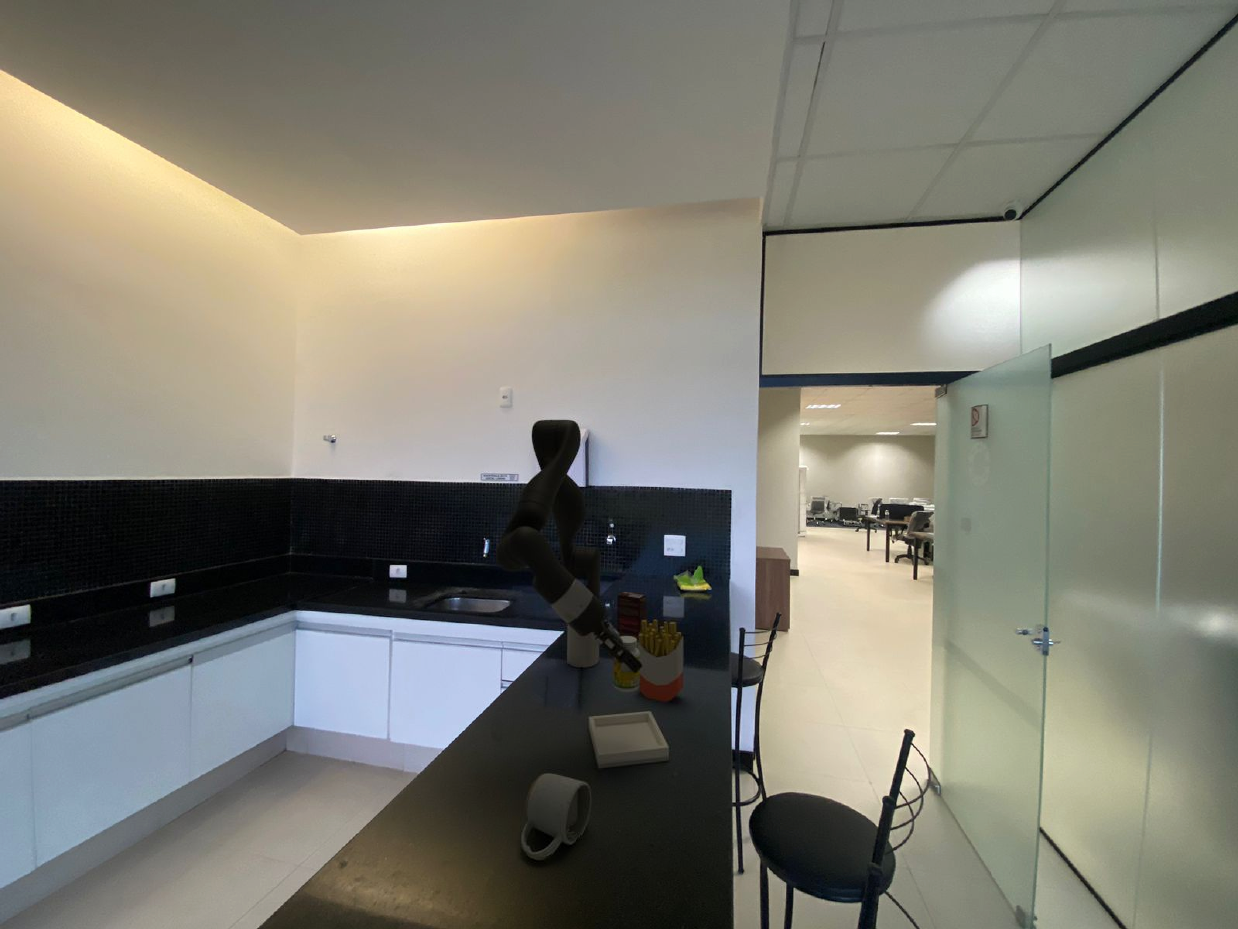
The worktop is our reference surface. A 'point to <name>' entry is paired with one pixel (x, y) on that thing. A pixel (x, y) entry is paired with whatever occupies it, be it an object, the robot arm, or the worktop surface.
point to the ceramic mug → (556, 810)
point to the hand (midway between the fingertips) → (635, 662)
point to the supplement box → (631, 613)
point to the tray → (627, 739)
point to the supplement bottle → (626, 668)
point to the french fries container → (660, 661)
